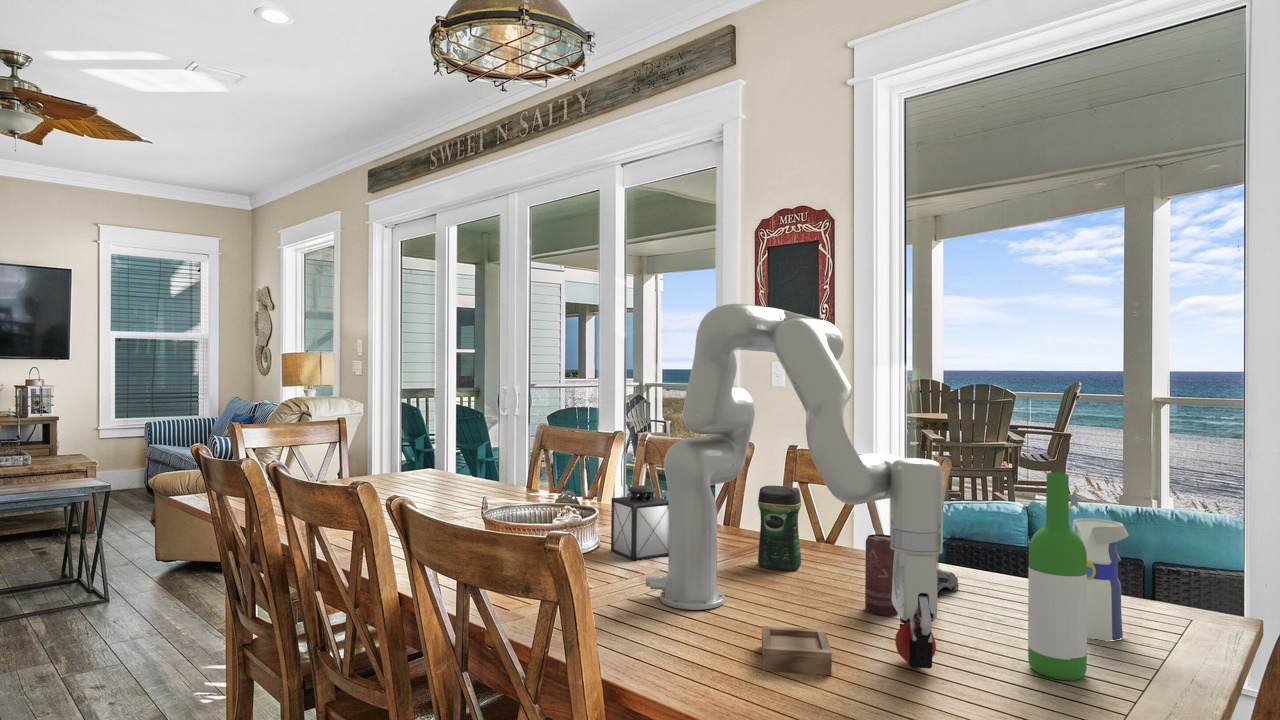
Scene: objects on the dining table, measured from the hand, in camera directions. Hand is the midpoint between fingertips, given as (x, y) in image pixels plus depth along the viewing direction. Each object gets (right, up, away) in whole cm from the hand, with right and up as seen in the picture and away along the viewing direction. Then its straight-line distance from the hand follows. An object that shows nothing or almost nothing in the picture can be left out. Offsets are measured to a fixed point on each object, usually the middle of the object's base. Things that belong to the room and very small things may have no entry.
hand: (915, 657), depth 113 cm
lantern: (-42, -2, +69) cm, 80 cm away
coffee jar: (-10, -2, +58) cm, 59 cm away
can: (+4, -2, +27) cm, 27 cm away
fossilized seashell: (+18, -3, +40) cm, 44 cm away
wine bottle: (+21, -2, -1) cm, 21 cm away
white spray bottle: (+38, -2, +16) cm, 41 cm away
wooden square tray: (-18, -1, +3) cm, 18 cm away
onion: (0, -2, 0) cm, 2 cm away
